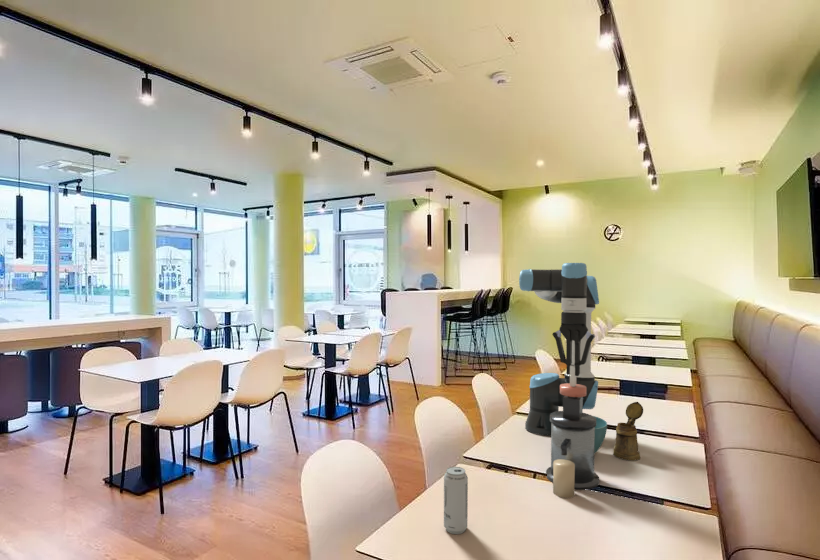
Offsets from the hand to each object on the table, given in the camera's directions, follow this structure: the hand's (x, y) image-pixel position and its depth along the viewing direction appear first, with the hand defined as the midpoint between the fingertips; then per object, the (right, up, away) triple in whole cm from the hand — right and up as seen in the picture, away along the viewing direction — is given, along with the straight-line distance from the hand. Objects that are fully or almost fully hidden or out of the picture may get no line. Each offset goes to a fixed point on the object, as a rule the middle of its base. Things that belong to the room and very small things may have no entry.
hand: (573, 385), depth 151 cm
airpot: (-1, -30, -2) cm, 30 cm away
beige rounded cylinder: (-6, -30, -10) cm, 32 cm away
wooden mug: (+28, -30, +21) cm, 46 cm away
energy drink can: (-40, -30, -30) cm, 58 cm away
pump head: (0, -9, 0) cm, 9 cm away
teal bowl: (+10, -30, +21) cm, 38 cm away
